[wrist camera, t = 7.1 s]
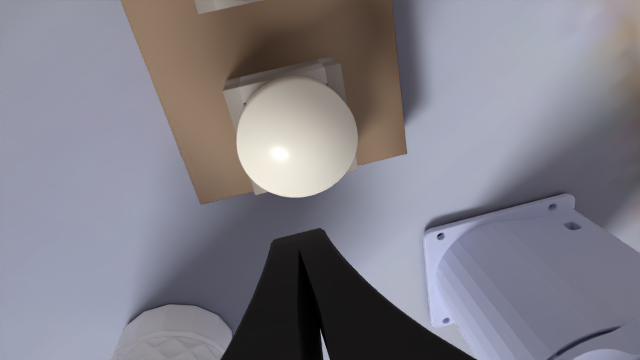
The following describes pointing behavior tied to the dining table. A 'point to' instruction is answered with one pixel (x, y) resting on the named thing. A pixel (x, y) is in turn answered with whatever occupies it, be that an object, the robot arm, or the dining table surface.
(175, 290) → the dining table surface
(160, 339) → the white cup
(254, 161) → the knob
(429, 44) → the dining table surface
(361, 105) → the knob mount
